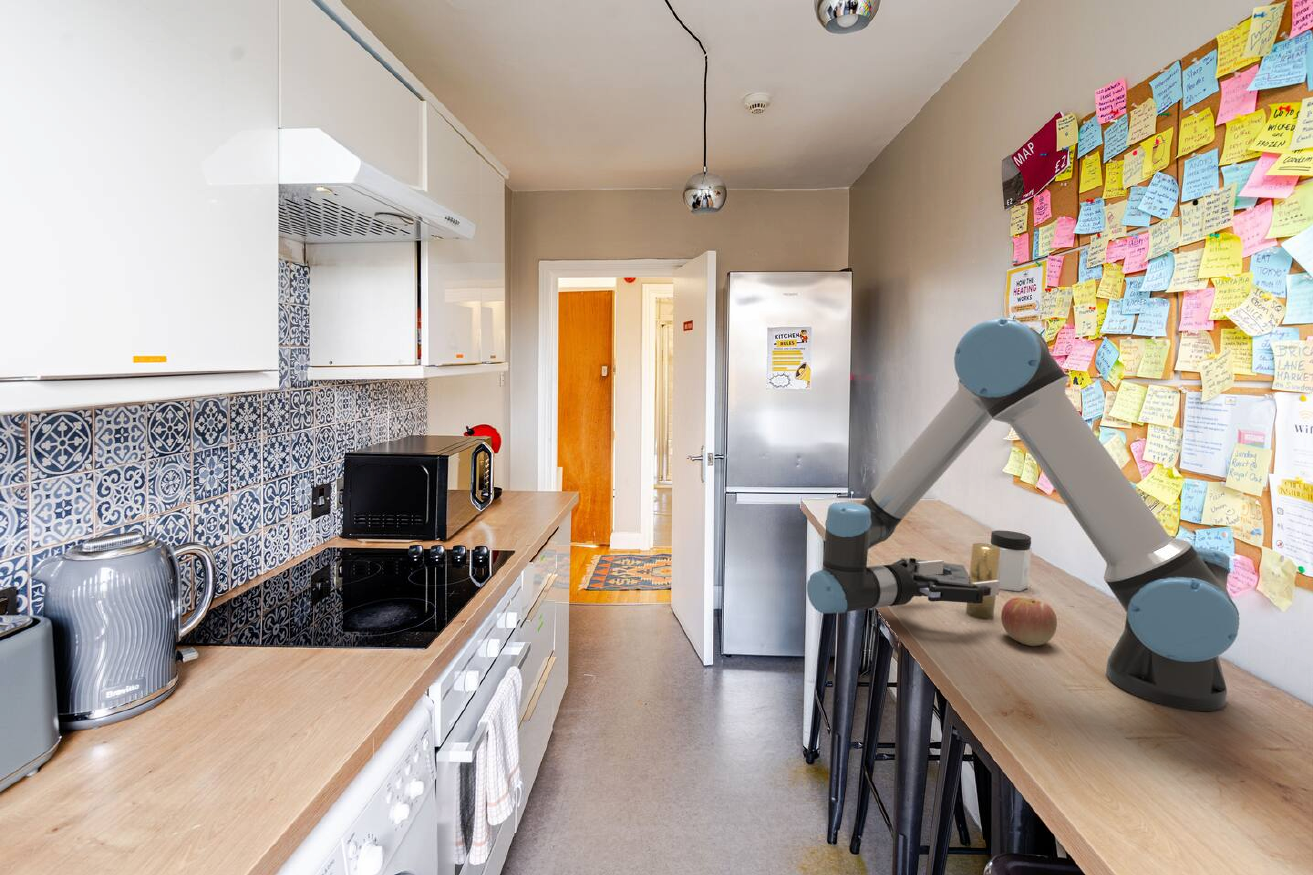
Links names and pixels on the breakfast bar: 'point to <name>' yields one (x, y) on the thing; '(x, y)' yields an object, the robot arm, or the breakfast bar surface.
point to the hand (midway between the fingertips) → (968, 576)
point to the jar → (1013, 559)
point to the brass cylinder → (983, 577)
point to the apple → (1029, 621)
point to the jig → (949, 573)
